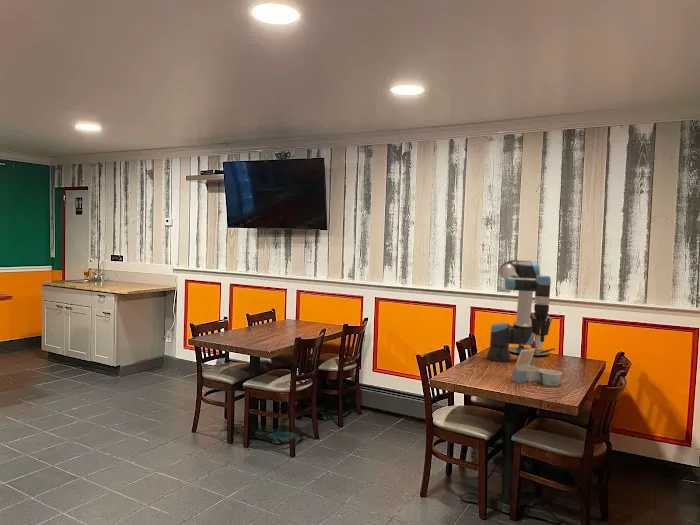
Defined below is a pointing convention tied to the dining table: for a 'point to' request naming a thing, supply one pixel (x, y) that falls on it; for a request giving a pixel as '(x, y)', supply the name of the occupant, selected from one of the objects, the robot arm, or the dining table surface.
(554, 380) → the food container
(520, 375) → the block
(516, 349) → the sailing ship model
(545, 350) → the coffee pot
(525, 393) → the dining table surface
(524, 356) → the lid
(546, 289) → the robot arm
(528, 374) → the mailer base
